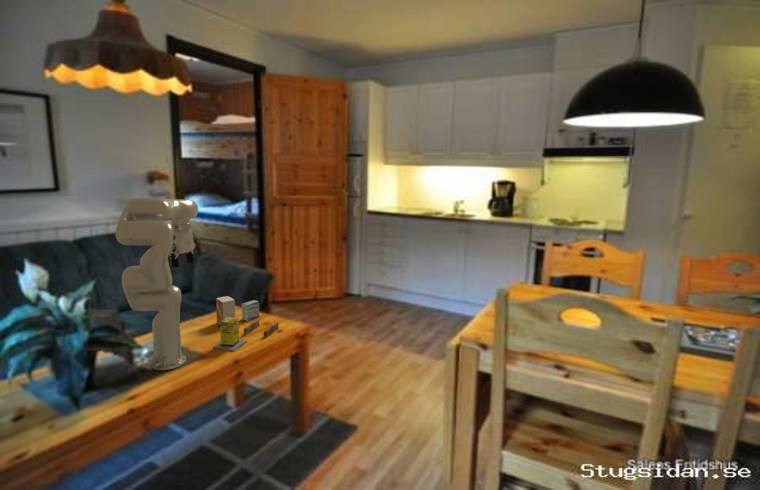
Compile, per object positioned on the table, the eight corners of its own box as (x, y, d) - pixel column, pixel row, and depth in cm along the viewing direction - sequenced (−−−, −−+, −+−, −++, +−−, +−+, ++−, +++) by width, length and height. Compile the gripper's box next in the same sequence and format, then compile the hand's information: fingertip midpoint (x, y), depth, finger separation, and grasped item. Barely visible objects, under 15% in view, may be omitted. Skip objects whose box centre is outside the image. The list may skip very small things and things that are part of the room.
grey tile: (234, 351, 175) (234, 349, 175) (213, 348, 177) (213, 346, 177) (246, 342, 184) (246, 340, 184) (226, 339, 187) (226, 337, 186)
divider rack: (266, 337, 190) (266, 331, 189) (243, 334, 192) (243, 328, 192) (278, 328, 201) (278, 322, 201) (257, 325, 204) (257, 319, 203)
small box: (216, 323, 205) (215, 297, 203) (228, 320, 209) (228, 295, 207) (223, 328, 199) (222, 302, 197) (235, 325, 204) (235, 299, 201)
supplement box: (233, 346, 177) (233, 322, 175) (220, 345, 178) (219, 321, 176) (239, 341, 183) (239, 317, 181) (226, 340, 184) (225, 316, 182)
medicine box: (247, 321, 209) (247, 305, 207) (241, 319, 211) (241, 303, 209) (259, 317, 216) (259, 301, 214) (253, 315, 218) (253, 299, 216)
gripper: (174, 230, 174) (176, 269, 177) (201, 225, 191) (202, 261, 194) (159, 229, 176) (161, 268, 179) (187, 224, 193) (188, 260, 196)
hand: (182, 264), depth 187 cm, fingers open, 9 cm apart
